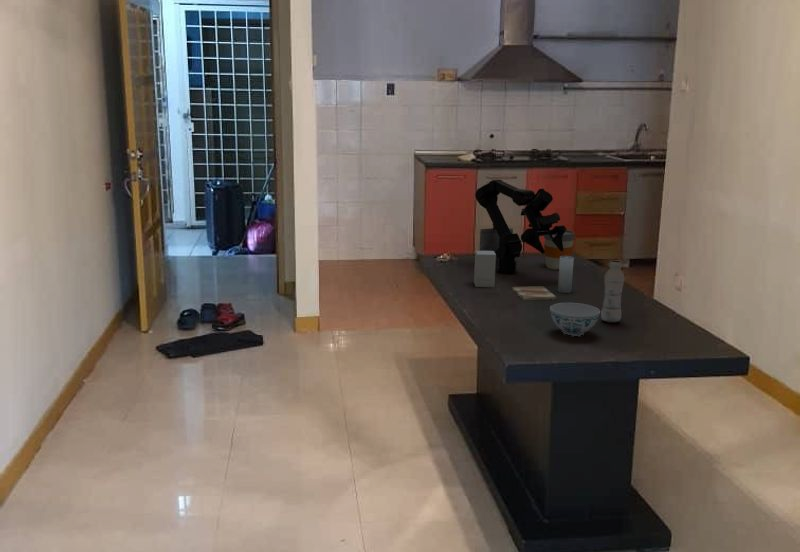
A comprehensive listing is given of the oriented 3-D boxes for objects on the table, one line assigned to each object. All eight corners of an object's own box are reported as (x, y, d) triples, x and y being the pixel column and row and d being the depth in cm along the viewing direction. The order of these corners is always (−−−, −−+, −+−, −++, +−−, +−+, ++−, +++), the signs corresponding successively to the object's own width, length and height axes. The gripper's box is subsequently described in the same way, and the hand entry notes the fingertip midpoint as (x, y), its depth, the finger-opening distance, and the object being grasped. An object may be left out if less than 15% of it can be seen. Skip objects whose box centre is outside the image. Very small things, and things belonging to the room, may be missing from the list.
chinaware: (562, 322, 252) (564, 299, 250) (606, 332, 243) (608, 308, 241) (539, 333, 241) (541, 309, 239) (584, 344, 232) (586, 319, 230)
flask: (477, 265, 329) (478, 223, 325) (508, 264, 333) (510, 222, 329) (480, 267, 326) (482, 224, 322) (512, 266, 330) (514, 223, 325)
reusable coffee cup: (540, 269, 325) (542, 233, 322) (543, 262, 337) (546, 228, 333) (571, 271, 322) (573, 235, 318) (573, 265, 333) (576, 230, 330)
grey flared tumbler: (556, 292, 289) (559, 257, 286) (558, 289, 294) (560, 254, 291) (570, 293, 288) (573, 258, 285) (572, 290, 292) (574, 256, 289)
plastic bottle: (598, 322, 253) (602, 262, 248) (603, 317, 259) (608, 258, 254) (618, 325, 250) (623, 264, 245) (622, 320, 256) (628, 260, 251)
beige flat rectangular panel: (511, 289, 292) (512, 286, 292) (542, 288, 294) (543, 286, 293) (523, 300, 278) (523, 297, 277) (556, 299, 279) (556, 296, 279)
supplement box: (494, 287, 295) (496, 254, 292) (475, 287, 295) (476, 254, 292) (492, 282, 302) (494, 250, 299) (473, 282, 302) (474, 250, 299)
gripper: (527, 207, 289) (545, 242, 283) (565, 204, 299) (583, 237, 293) (512, 224, 298) (529, 259, 292) (549, 221, 307) (567, 254, 301)
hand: (553, 252), depth 294 cm, fingers open, 9 cm apart
